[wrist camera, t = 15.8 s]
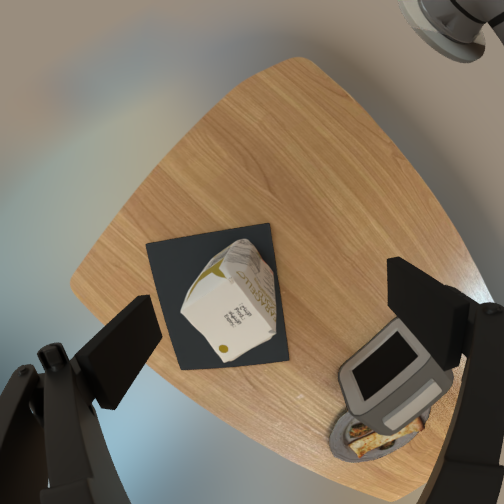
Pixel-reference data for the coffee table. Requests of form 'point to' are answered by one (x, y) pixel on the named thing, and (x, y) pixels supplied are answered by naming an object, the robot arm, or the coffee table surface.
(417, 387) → the alarm clock
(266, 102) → the coffee table surface
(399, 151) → the coffee table surface
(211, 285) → the juice carton
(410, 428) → the food plate
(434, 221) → the coffee table surface
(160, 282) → the drinks mat
